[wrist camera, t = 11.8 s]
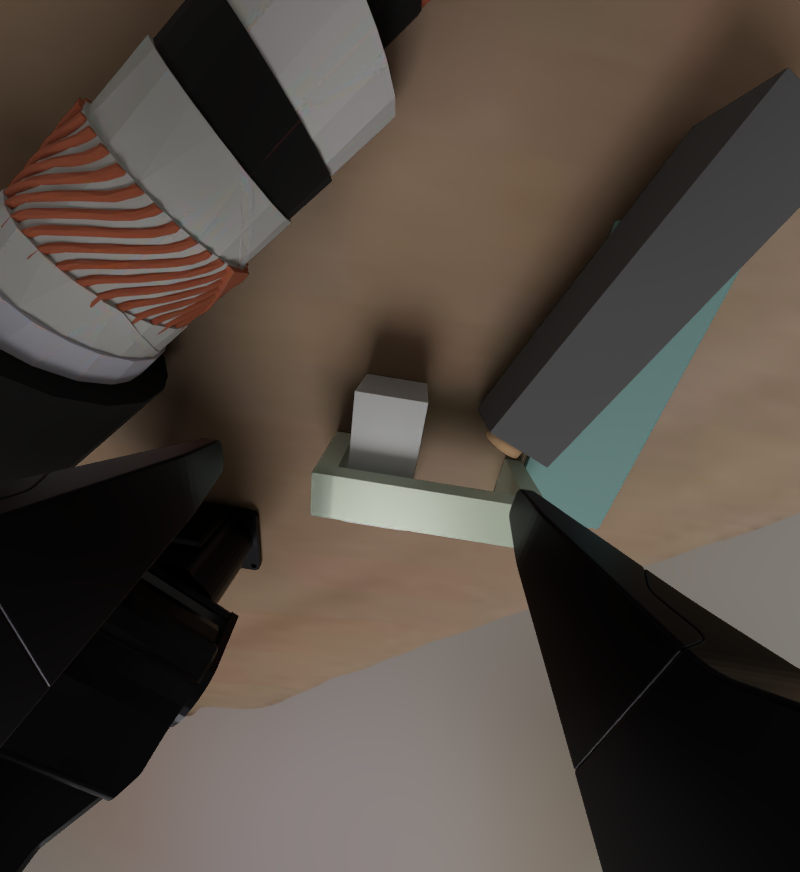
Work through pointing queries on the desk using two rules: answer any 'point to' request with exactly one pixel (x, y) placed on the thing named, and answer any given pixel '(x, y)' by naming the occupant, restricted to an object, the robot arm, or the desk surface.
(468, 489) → the light grey piece
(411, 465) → the block
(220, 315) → the desk surface
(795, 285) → the desk surface
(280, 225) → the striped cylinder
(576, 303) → the dark gray bar
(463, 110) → the desk surface
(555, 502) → the mat
